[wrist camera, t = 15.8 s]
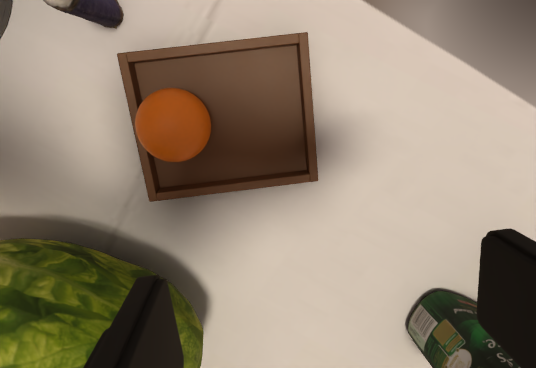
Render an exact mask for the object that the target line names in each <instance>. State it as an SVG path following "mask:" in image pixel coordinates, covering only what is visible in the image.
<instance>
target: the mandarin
mask: <svg viewBox="0 0 536 368" xmlns="http://www.w3.org/2000/svg"><path fill="white" fill-rule="evenodd" d="M135 129H136V133H137V136H138V139H139V141H140V143H141V144H142V146H143V147H144V148H145V149H146V150H147V151H148V152H149V153H150V154H151V155H153V156H154V157H156V158H158V159H161V160H163V161H168V162H182V161H186V160H189V159H191V158H193V157H195V156H196V155H197V154H199V153H200V152H201V151H202V150H203V149H204V147H205V146H206V144H207V142H208V140H209V137H210V133H211V120H210V116H209V113H208V111H207V109H206V107H205V105H204V104H203V103H202V101H201V100H200V99H199V98H197V97H196V96H195V95H193V94H192V93H190V92H188V91H186V90H183V89H179V88H164V89H160V90H158V91H155V92H153V93H152V94H150V95H149V96H148V97H146V98H145V99H144V100H143V102H142V103H141V104H140V106H139V108H138V111H137V113H136V118H135Z"/></svg>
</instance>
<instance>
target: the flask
mask: <svg viewBox="0 0 536 368" xmlns="http://www.w3.org/2000/svg"><path fill="white" fill-rule="evenodd" d="M44 1H45V2H46V3H47V4H48V5H50V6H52V7H53V8H55V9H57V10H60V11H62V12H65V13H69V14H71V15H75V16H78V17H81V18H83V19H86V20H89V21H92V22H95V23H98V24H101V25H103V26H104V27H109V28H112V27H113V28H117V26H118V25H119V24H120V23H121V22H122V19H123V12H122V9H121V7H120V6H119V4H118V2H117V0H44Z"/></svg>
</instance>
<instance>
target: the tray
mask: <svg viewBox="0 0 536 368" xmlns="http://www.w3.org/2000/svg"><path fill="white" fill-rule="evenodd" d="M117 57H118V61H119V66H120V70H121V75H122V79H123V84H124V88H125V93H126V97H127V102H128V106H129V111H130V116H131V120H132V125H133V129H134V134H135V138H136V143H137V147H138V152H139V156H140V161H141V165H142V170H143V175H144V179H145V184H146V188H147V193H148V197H149V201H150V202H152V201H157V200H158V201H160V200H168V199H176V198H184V197H192V196H200V195H208V194H216V193H224V192H232V191H240V190H248V189H256V188H264V187H272V186H280V185H288V184H296V183H304V182H313V181H318V170H317V156H316V142H315V128H314V114H313V101H312V87H311V73H310V59H309V45H308V33H307V32H305V33H299V34H298V33H296V34H287V35H278V36H270V37H261V38H252V39H243V40H234V41H225V42H216V43H207V44H198V45H189V46H180V47H171V48H162V49H153V50H144V51H135V52H127V53H118V54H117ZM164 88H179V89H183V90H186V91H188V92H190V93H192V94H193V95H195V96H196V97H197V98H199V99H200V100H201V101H202V103H203V104H204V105H205V107H206V109H207V111H208V113H209V116H210V120H211V133H210V137H209V140H208V142H207V144H206V146H205V147H204V149H203V150H202V151H201V152H200V153H199V154H197V155H196V156H195V157H193V158H191V159H189V160H186V161H182V162H168V161H163V160H161V159H158V158H156V157H154V156H153V155H151V154H150V153H149V152H148V151H147V150H146V149H145V148H144V147H143V146H142V144H141V143H140V141H139V139H138V136H137V133H136V129H135V118H136V113H137V111H138V108H139V106H140V104H141V103H142V102H143V100H144V99H145V98H146V97H148V96H149V95H150V94H152V93H153V92H155V91H158V90H160V89H164Z"/></svg>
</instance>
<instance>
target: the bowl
mask: <svg viewBox="0 0 536 368" xmlns="http://www.w3.org/2000/svg"><path fill="white" fill-rule="evenodd" d="M11 5H12V0H0V37H1V36H2V34H3V32H4V30H5V28H6V26H7V23H8V19H9V16H10V11H11Z"/></svg>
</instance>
